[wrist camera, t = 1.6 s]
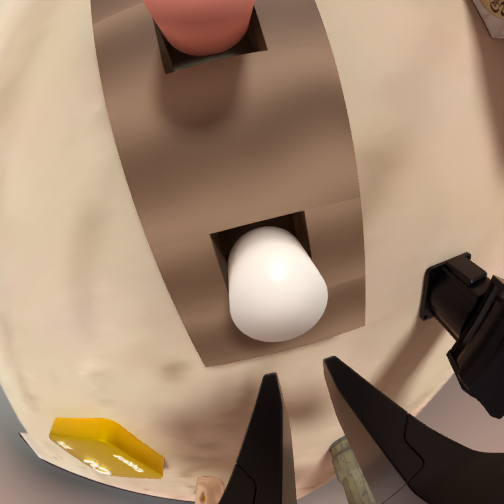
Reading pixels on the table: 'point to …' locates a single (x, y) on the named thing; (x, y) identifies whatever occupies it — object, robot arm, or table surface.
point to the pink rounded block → (201, 23)
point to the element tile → (107, 447)
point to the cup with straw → (209, 490)
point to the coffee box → (492, 16)
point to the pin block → (236, 161)
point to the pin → (274, 286)
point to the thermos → (350, 473)
